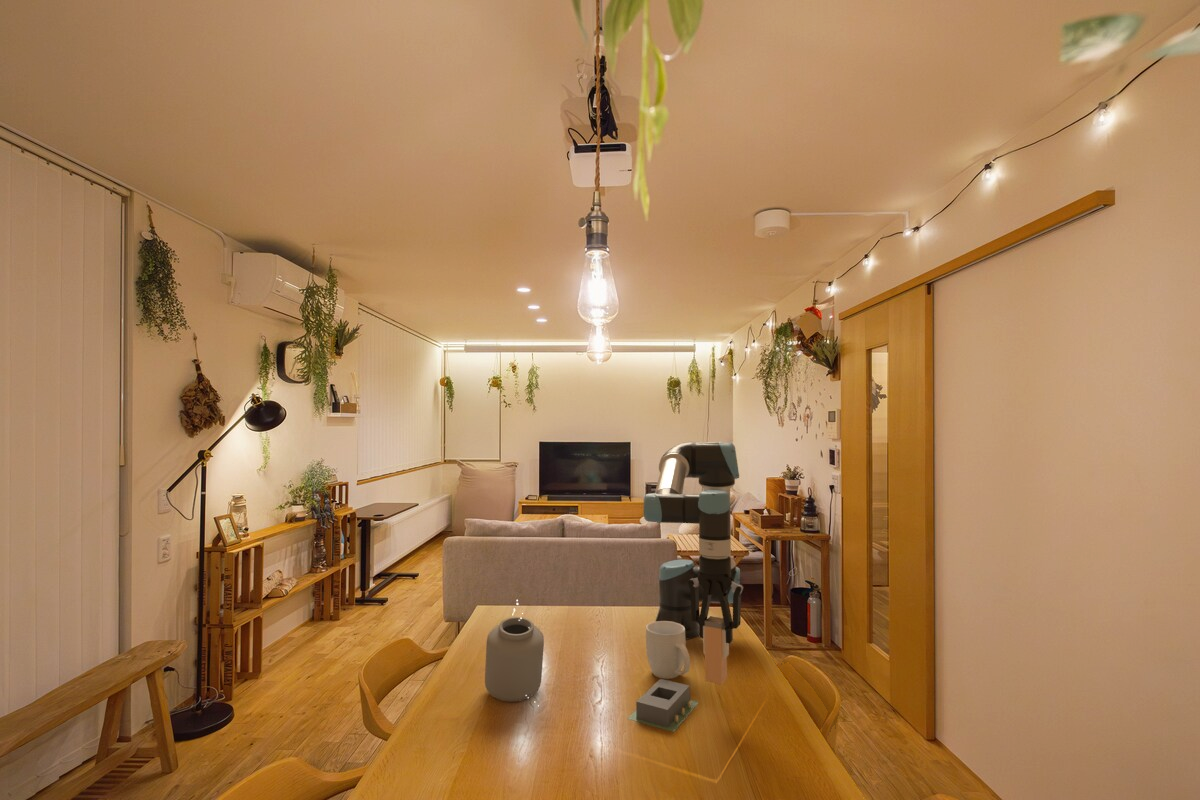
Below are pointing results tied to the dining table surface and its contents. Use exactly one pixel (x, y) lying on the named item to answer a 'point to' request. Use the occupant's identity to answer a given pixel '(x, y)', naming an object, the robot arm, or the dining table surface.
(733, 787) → the dining table surface
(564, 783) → the dining table surface
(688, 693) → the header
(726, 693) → the dining table surface
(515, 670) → the jar
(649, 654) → the mug
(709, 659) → the plug
